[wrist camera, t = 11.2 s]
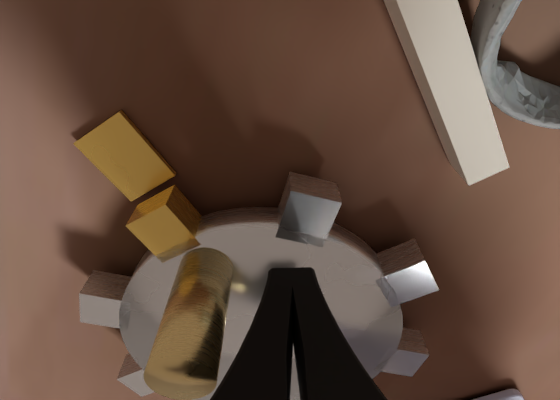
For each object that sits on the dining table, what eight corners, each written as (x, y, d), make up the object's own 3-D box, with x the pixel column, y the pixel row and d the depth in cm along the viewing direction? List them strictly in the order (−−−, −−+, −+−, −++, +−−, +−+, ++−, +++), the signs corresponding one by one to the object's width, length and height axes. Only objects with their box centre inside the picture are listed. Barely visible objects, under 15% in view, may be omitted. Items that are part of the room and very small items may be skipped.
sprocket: (471, 172, 12) (583, 293, 8) (396, 402, 19) (430, 531, 15) (44, 170, 12) (-94, 293, 7) (134, 402, 19) (92, 531, 15)
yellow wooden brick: (331, 314, 17) (332, 324, 16) (249, 346, 18) (249, 357, 17) (150, 89, 11) (145, 95, 11) (51, 158, 12) (42, 166, 12)
